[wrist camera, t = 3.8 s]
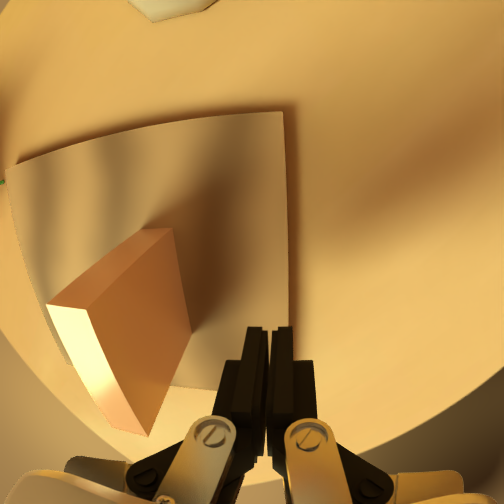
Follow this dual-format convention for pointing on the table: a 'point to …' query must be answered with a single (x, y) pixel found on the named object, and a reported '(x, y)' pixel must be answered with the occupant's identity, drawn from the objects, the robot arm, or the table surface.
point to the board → (169, 222)
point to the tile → (127, 327)
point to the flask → (168, 8)
